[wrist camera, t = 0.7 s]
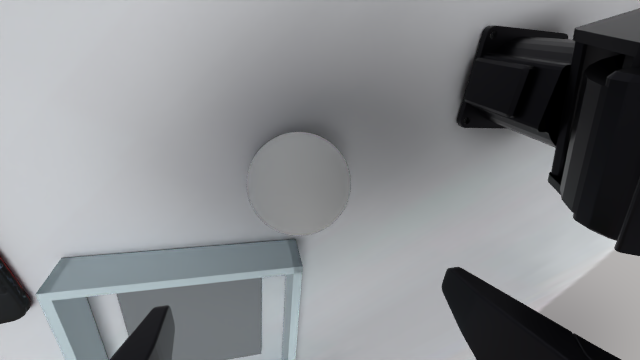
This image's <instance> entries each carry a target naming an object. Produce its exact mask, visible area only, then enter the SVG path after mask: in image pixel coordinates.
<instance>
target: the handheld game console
mask: <svg viewBox="0 0 640 360" xmlns="http://www.w3.org/2000/svg"><path fill="white" fill-rule="evenodd" d="M30 306H31V301H30V298H29V296H28V295H27V294H26V293H25V292H24V290H23V288H22V287H21V285H20V284H19V282H18V281H17V280H16V278H15V277H14V275H13V274H12V273H11V271H10V270H9V268H8V267H7V266H6V264H5V263H4V261H3V260H2V259H1V257H0V324H2V323H7V322H11V321H15V320H17V319H20V318H21V317H23V316H24V315H25V314H26V312H27V311H28V310H29V308H30Z"/></svg>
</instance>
